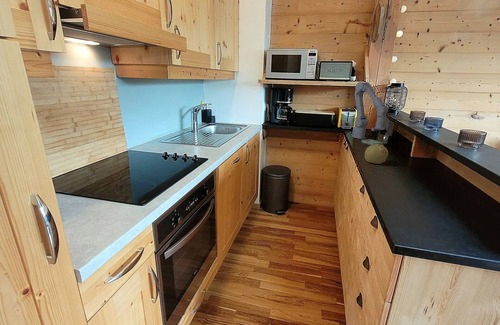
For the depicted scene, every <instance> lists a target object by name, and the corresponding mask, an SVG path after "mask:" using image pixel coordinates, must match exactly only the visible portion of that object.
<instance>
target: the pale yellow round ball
mask: <svg viewBox="0 0 500 325" xmlns="http://www.w3.org/2000/svg"><path fill="white" fill-rule="evenodd" d="M388 157H389V151H388V149H387V147H386V146H384V144H383V145H379V144H375V145H369V146H367V148H366V149H365V150H364V159H365V161H366V162H368V163H371V164H378V165H381V164H383V163H385V162H386V161H387V158H388Z"/></svg>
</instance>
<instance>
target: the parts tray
mask: <svg viewBox="0 0 500 325" xmlns="http://www.w3.org/2000/svg"><path fill="white" fill-rule="evenodd" d="M360 142H361V143H362V144H366V145H369V146H371V145H375V144H379V145H383V146H384V144H383V142H382V141H381V142H379V141H375V140H373V139H371V138H368V139H361V141H360Z"/></svg>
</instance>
